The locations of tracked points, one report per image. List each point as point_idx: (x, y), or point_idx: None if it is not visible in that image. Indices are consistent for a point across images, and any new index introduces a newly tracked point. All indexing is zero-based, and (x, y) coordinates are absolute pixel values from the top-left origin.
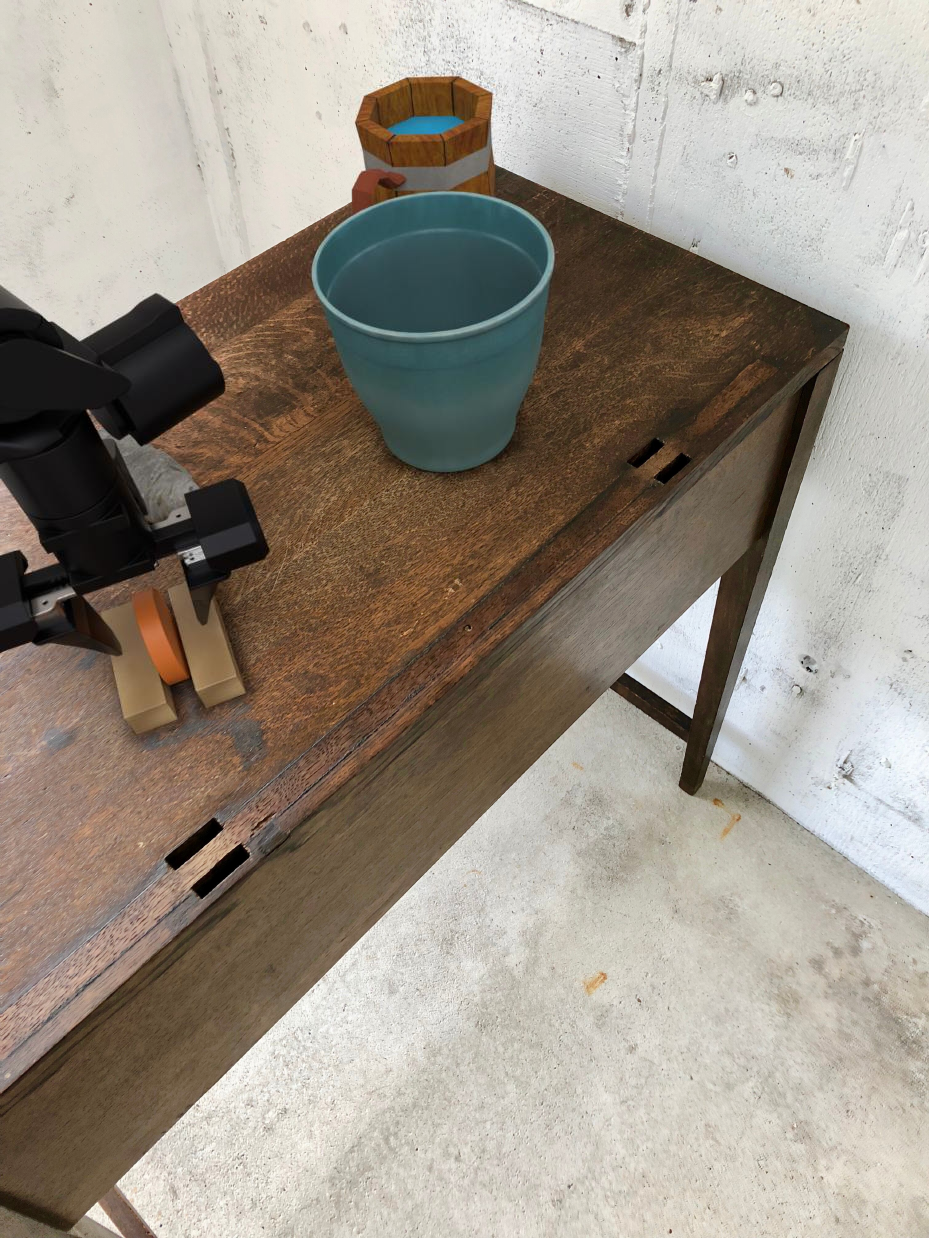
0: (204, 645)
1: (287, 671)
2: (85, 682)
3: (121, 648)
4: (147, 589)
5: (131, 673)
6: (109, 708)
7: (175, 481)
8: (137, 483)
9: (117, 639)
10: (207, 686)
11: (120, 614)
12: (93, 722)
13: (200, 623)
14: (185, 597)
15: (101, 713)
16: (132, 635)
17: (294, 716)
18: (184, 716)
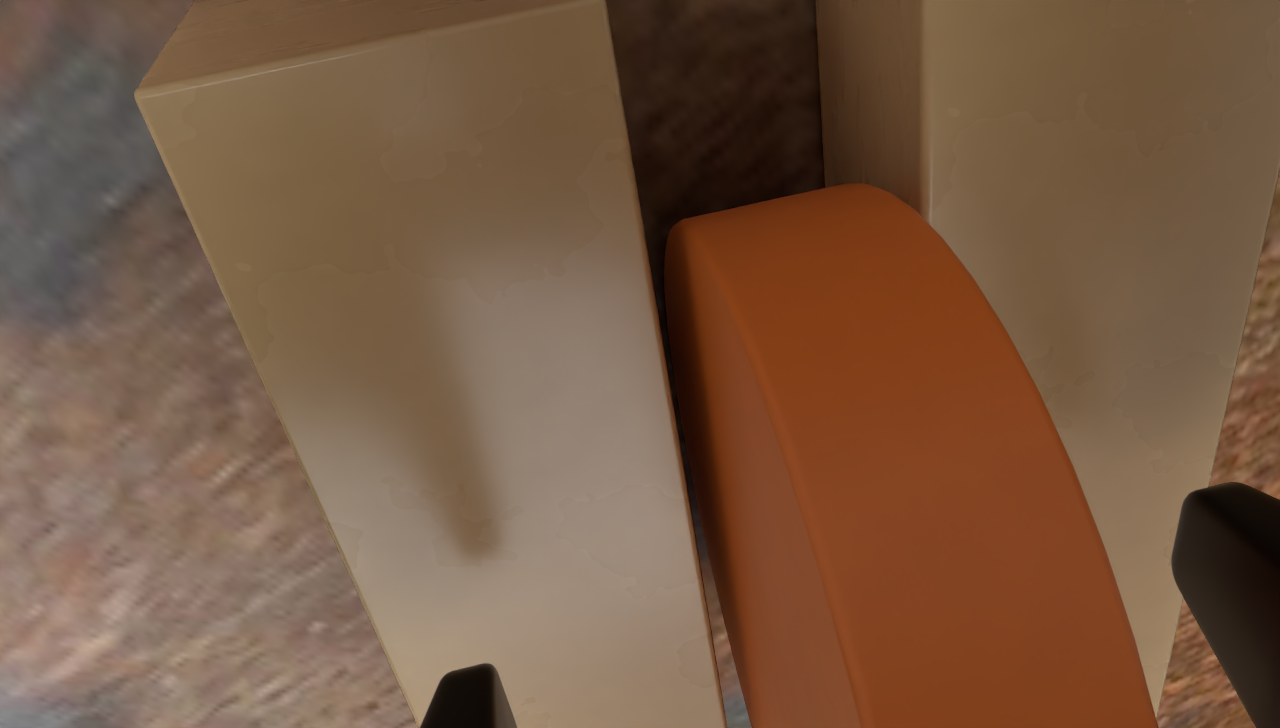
0: None
1: None
2: (71, 425)
3: (504, 693)
4: (1043, 618)
5: (536, 705)
6: (301, 599)
7: None
8: None
9: (496, 716)
10: None
11: (386, 172)
12: (215, 661)
13: (1209, 643)
14: (1071, 108)
15: (255, 621)
16: (531, 424)
17: (1192, 689)
18: (731, 663)
